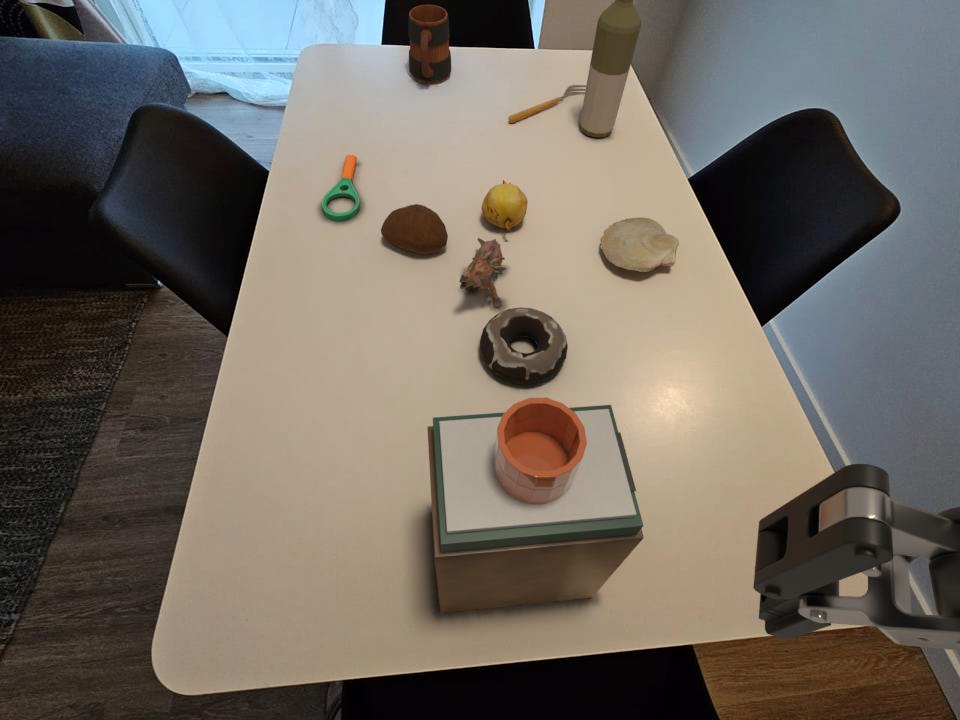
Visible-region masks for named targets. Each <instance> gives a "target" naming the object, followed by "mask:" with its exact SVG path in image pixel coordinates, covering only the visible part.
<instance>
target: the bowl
mask: <svg viewBox="0 0 960 720" xmlns="http://www.w3.org/2000/svg"><path fill="white" fill-rule="evenodd" d="M570 408H571V407H568V406H567V404H564V403H563V402H560V401H558V400H555V399H552V398H549V397H528V398H524V399H523V400H520V401H517V402H515V403H513V404H512V405H511V406H510V407H509V408H508V409H506V411H504V412H505V413H504V412H503V413H504V414H503V415H502V418H501V420H500V423H499V425H498V428H497V435H496V443H495V450H494V472H495V475H496V478H497V480H498V482H499V484H500V485H501V487H502V488H503V489H504V490H505V491H506V492H507V493H508V494H509V495H511V496H512V497H514V498H515V499H517V500H519V501H522V502H525V503H530V504H544V503H548V502H551V501H554V500H556V499H557V498H559V497H560V496H562V495H563V494H564V493H565V492H566V491H567V489H568V488H569V486H570V485H571V484H572V482H573V479H574V477H575V475H576V472H577V470H578V468H579V465H580V463H581V461H582V458H583V455H584V452H585V448H586V445H587V440H586V433H585V428H584V426H583V424H582V422H581V421H580V419H579V418H578V416H577V415H576V413H575V412H573V411H572V410H571V409H570Z"/></svg>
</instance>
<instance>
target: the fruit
mask: <svg viewBox="0 0 960 720" xmlns="http://www.w3.org/2000/svg"><path fill="white" fill-rule="evenodd" d="M527 210H528V198H527V196H526V194H525V192H524V191H523V190H521V189H520V187H519V186H518V185H516V184H514V183H513V184H512V182H511V181H510V182H506V181H505V179H502V183H500V184H495V185H494V186H492V187H491V188H489V190H488V192H487V193H486V195H485V196H484V198H483V201H482V204H481V212H482V215H483V217H484V218H485V219H486V221H488V223H490V224H492V225H494V226H496V227H499V228H502V229H506V231H507V233H512V230H511V229H512V228H514V227H516V226H518V225H519V224H520V223H521V222H522V221H523V219H524V218H525V217H526V214H527Z"/></svg>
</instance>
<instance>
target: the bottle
mask: <svg viewBox="0 0 960 720" xmlns="http://www.w3.org/2000/svg"><path fill="white" fill-rule="evenodd" d="M641 29H642V19H641V17H640V15H639V12H638V11H637V10H636V7H635V5H634V0H615V1H614V2H612V3H611V4H610V5H608V7H606V9H604V10H603V11H602V12H601V14H600V15H599V16H598V19H597V24H596V29H595V35H594V41H593V46H592V52H591V57H590V64H589V68H588V74H587V80H586V87H585V89H586V90H585V91H584V92H585V94H584V95H583V96H584V97H583V103H582V108H581V113H580V119H579V127H580V130H581V132H582V133H584V134H585V135H587V136H589V137H593V138H605V137H607V136H610V135H611V133H612V131H613V130H614V127H615V124H616V121H617V120H616V119H617V117H618V113H619V109H620V105H621V103H622V98H623V95H624V91H625V87H626V83H627V79H628V76H629V72H630V68H631V66H632V65H631V64H632V61H633V58H634V54H635V50H636V46H637V43H638V39H639V36H640V32H641Z"/></svg>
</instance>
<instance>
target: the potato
mask: <svg viewBox="0 0 960 720" xmlns="http://www.w3.org/2000/svg"><path fill="white" fill-rule="evenodd" d="M380 234H381V235H382V237H383V238H384V240H385V241H386V242H388V243H390V244H391V245H393V246H395V247H398V248H400V249H403V250H405V251H406V250H407V251H411V252H414V253H416V254H419V255H428V254H434V253H436V252H438V251H441V250H442V249H444V248H445V247H447V243H448V239H449V234H448V231H447V227H446V225H445V223H444V222H443V220H442V219H441V218H440V216H439V214H438V213H437V212H435V211H434V210H432V209H431V208H429V207H427V206H426V205H422V204H418V203H414V204H409V205H407V206H403V207H399V208H397V209H394V210H393V211H391V212H390V213H389V214H388V215H387V217H386V218H385V219H384V220H383V223H382V226H381V228H380Z"/></svg>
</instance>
